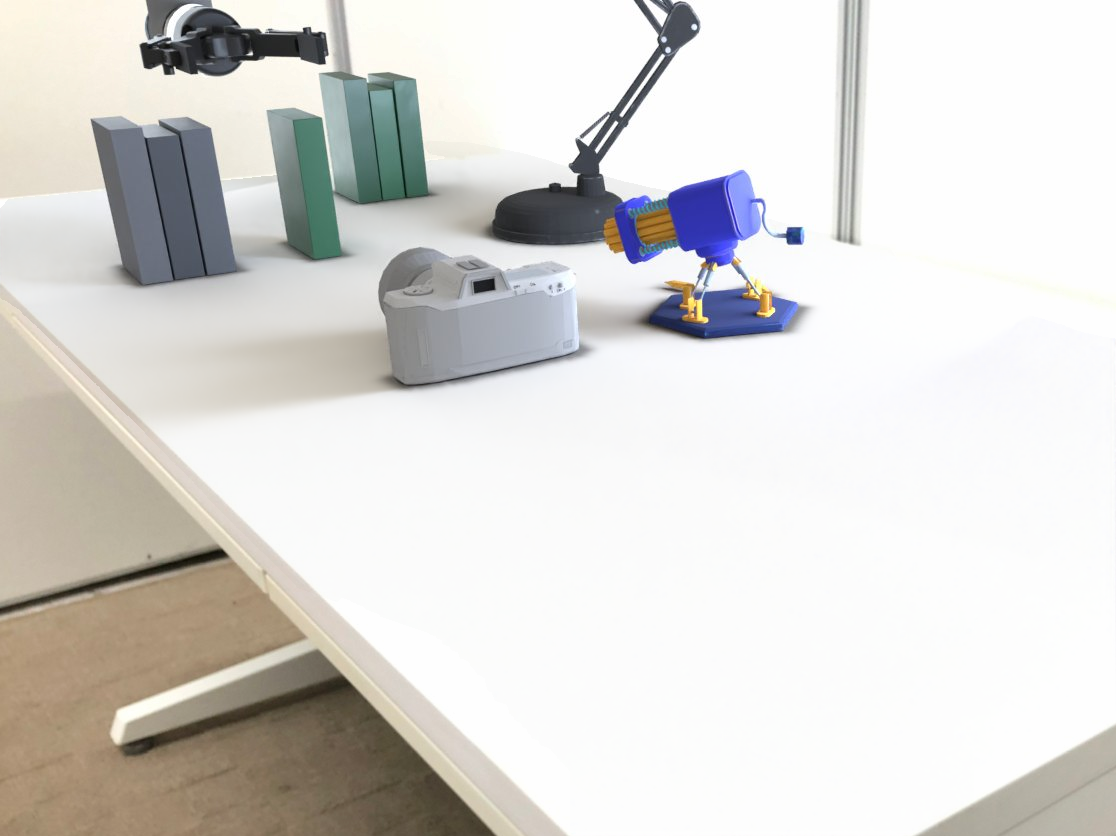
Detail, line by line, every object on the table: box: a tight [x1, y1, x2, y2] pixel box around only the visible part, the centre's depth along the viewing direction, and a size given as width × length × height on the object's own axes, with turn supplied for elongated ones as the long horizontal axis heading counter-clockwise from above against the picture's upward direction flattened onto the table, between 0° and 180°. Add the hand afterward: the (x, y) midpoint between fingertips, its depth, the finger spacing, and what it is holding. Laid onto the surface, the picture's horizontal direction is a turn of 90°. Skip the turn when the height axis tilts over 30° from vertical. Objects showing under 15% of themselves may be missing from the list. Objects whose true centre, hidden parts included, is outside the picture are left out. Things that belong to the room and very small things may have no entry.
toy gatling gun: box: [604, 169, 805, 339], centre depth 116 cm, size 14×18×13 cm
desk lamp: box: [491, 0, 701, 245], centre depth 139 cm, size 24×26×45 cm
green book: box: [265, 107, 343, 260], centre depth 137 cm, size 9×3×14 cm, turn 34°
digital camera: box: [377, 246, 580, 386], centre depth 107 cm, size 17×14×10 cm
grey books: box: [90, 115, 238, 286], centre depth 130 cm, size 9×9×15 cm
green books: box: [318, 71, 429, 204], centre depth 164 cm, size 9×9×14 cm
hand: (258, 55), depth 139 cm, fingers open, 13 cm apart
